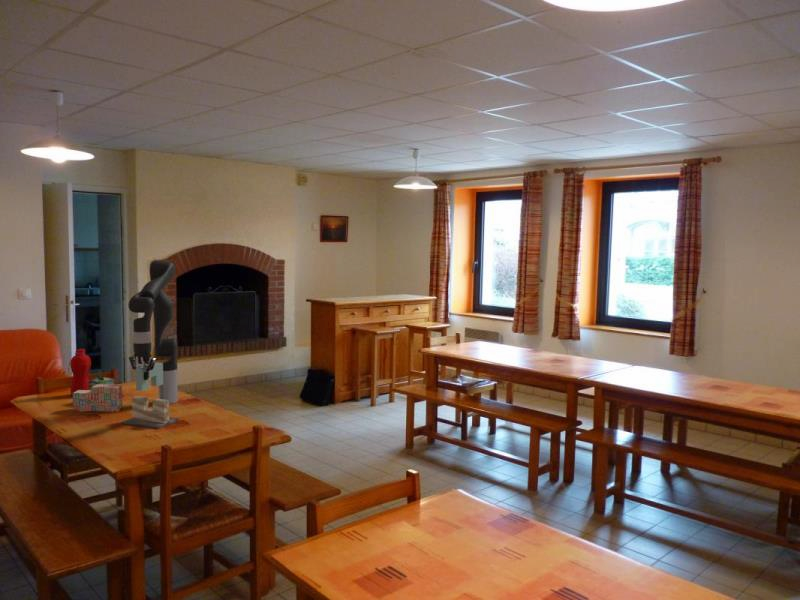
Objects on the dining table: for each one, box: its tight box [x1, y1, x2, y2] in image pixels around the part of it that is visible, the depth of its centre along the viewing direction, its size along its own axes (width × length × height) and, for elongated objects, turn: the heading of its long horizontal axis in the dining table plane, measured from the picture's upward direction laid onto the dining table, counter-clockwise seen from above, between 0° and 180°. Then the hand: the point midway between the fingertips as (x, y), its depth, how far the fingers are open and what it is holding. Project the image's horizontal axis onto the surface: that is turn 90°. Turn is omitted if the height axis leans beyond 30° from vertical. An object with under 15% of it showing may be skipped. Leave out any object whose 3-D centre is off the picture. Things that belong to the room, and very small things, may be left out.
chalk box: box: [88, 372, 115, 390], centre depth 320 cm, size 9×9×15 cm
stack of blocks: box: [72, 384, 123, 413], centre depth 304 cm, size 21×6×12 cm, turn 92°
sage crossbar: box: [135, 362, 163, 392], centre depth 283 cm, size 14×3×10 cm, turn 161°
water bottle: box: [67, 348, 92, 397], centre depth 331 cm, size 9×11×25 cm
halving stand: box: [121, 395, 180, 430], centre depth 285 cm, size 14×20×11 cm
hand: (142, 379), depth 279 cm, fingers closed on sage crossbar, 3 cm apart
